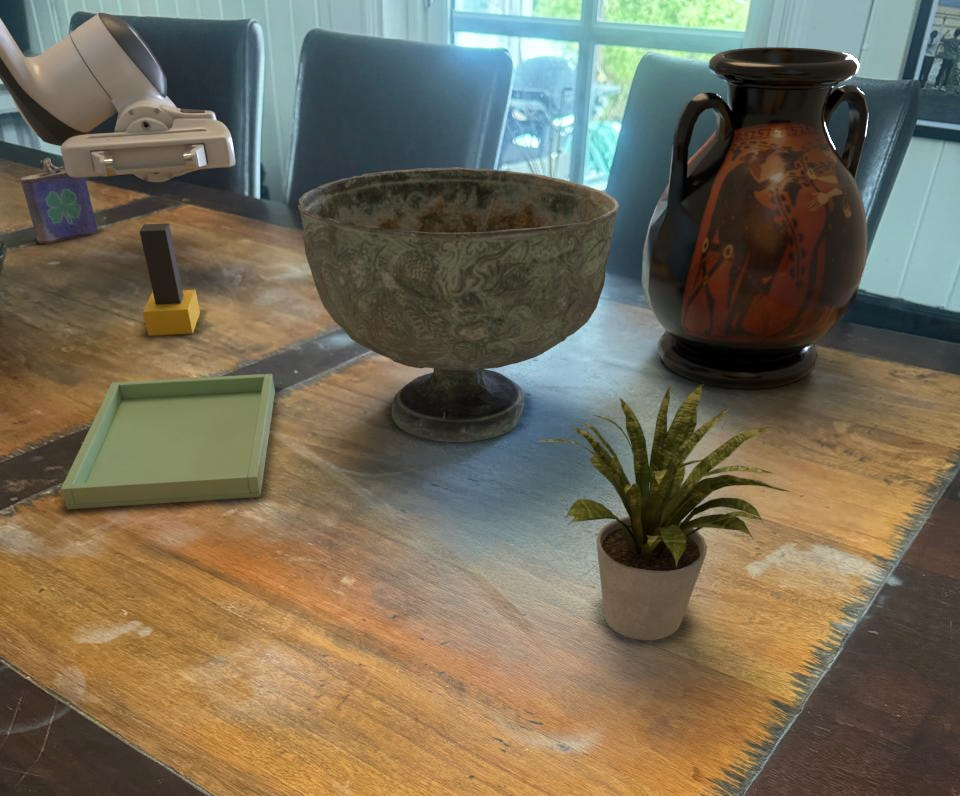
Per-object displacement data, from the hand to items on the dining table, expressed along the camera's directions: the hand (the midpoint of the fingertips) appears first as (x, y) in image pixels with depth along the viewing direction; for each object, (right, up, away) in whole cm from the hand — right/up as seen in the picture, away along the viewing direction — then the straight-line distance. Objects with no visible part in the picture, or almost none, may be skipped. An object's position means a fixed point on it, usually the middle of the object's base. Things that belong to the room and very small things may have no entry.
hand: (149, 165), depth 111 cm
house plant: (+49, -55, -47) cm, 87 cm away
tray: (+12, -38, -25) cm, 47 cm away
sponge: (+3, -19, 0) cm, 19 cm away
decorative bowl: (+37, -34, -19) cm, 54 cm away
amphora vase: (+66, -27, -11) cm, 72 cm away
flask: (-22, +4, +29) cm, 37 cm away
